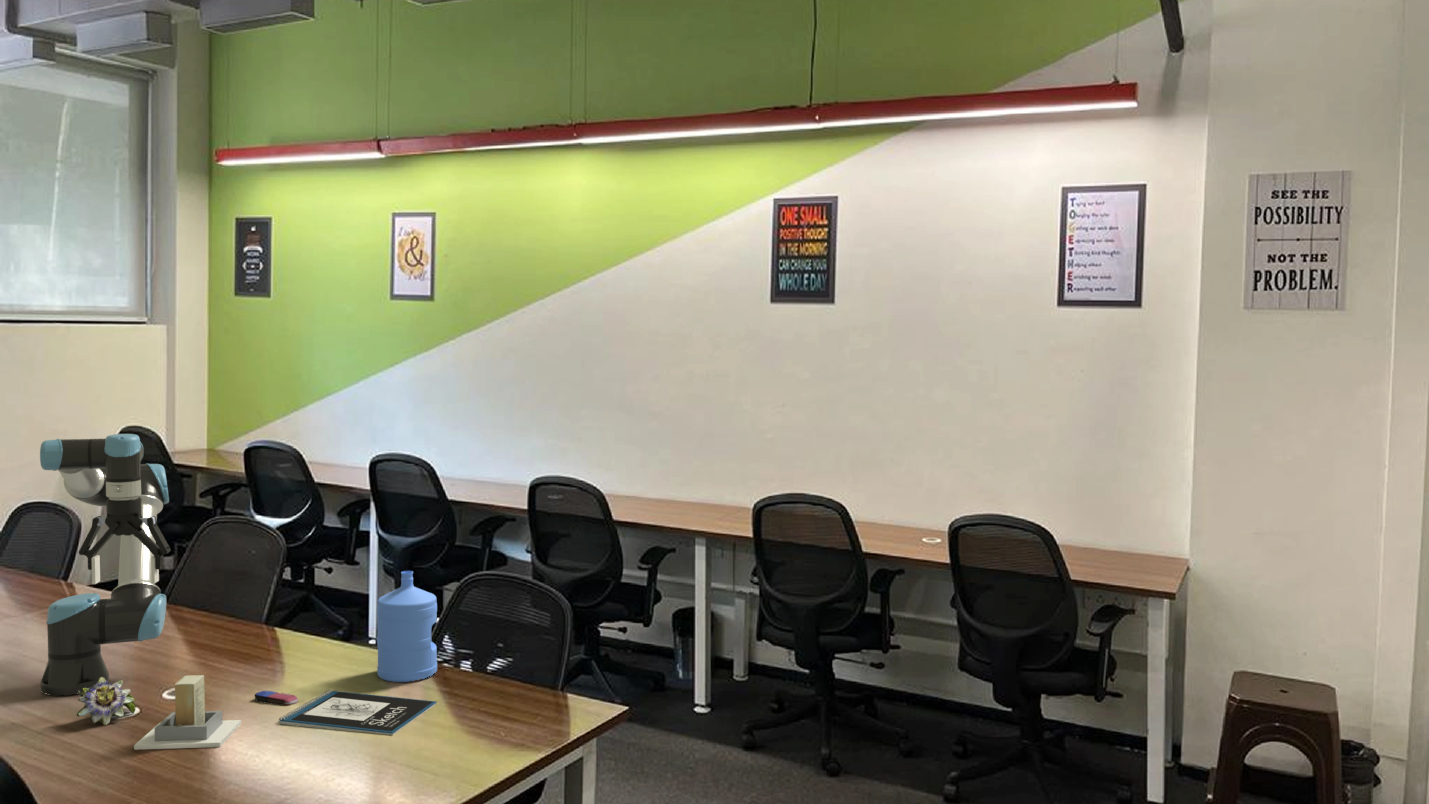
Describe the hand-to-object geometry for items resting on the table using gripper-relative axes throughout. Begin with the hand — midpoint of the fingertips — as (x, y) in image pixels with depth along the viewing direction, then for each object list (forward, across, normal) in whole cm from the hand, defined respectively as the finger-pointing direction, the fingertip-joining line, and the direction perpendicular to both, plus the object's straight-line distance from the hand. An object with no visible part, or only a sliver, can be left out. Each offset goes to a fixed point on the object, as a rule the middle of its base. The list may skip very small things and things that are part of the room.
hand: (125, 582), depth 258 cm
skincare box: (+28, +23, -27) cm, 45 cm away
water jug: (+30, +66, +14) cm, 73 cm away
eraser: (+30, +36, -4) cm, 47 cm away
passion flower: (+30, 0, -13) cm, 33 cm away
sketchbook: (+30, +58, -16) cm, 67 cm away
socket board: (+29, +23, -27) cm, 46 cm away
